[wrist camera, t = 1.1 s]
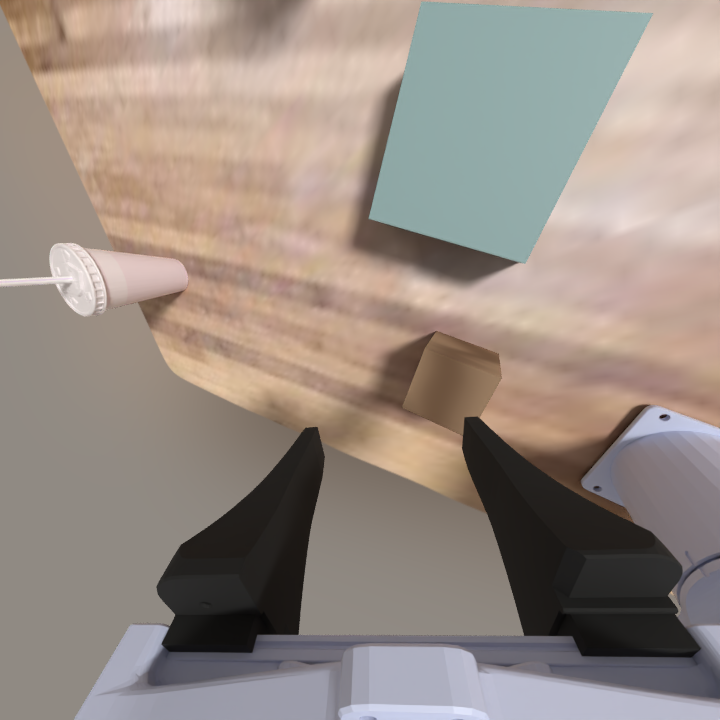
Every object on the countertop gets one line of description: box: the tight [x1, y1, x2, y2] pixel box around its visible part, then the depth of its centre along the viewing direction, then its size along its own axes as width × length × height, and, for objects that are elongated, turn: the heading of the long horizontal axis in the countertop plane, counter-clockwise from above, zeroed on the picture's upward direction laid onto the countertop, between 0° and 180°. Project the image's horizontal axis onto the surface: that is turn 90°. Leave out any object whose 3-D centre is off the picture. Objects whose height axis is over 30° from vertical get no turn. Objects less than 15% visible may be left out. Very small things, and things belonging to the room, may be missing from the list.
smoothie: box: [0, 243, 188, 316], centre depth 27 cm, size 6×6×14 cm
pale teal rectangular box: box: [369, 2, 653, 264], centre depth 16 cm, size 10×10×4 cm
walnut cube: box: [402, 331, 502, 436], centre depth 21 cm, size 5×5×5 cm
